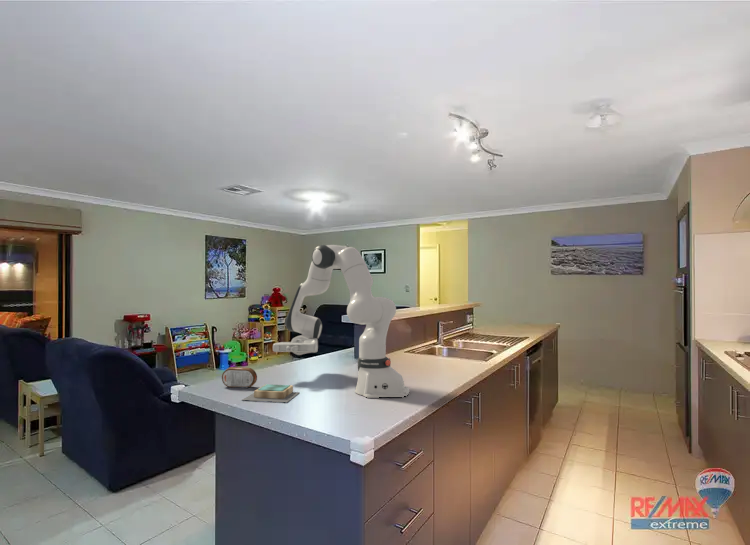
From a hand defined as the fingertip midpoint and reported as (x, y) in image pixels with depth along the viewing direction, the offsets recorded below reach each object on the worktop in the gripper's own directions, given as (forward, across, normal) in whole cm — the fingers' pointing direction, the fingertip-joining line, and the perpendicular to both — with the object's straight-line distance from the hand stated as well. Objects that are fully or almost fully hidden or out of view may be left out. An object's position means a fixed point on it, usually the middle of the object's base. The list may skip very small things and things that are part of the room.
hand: (289, 349), depth 164 cm
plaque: (+10, -1, +14) cm, 17 cm away
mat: (+17, -1, +16) cm, 23 cm away
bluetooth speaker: (+6, -21, +16) cm, 27 cm away
